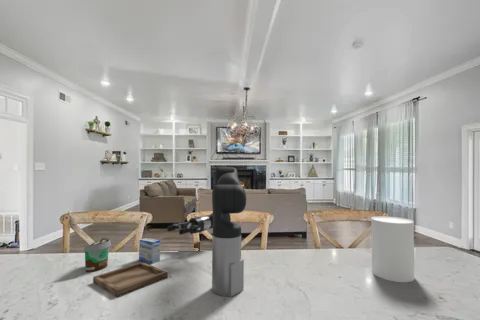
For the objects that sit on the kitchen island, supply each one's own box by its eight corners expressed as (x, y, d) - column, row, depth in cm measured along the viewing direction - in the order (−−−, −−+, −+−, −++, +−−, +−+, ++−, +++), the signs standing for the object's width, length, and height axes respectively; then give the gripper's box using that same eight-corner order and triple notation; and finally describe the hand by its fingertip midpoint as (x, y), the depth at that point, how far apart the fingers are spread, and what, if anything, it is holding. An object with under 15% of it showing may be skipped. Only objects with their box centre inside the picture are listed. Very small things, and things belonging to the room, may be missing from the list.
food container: (99, 274, 95) (100, 246, 96) (83, 273, 95) (83, 245, 96) (116, 261, 108) (117, 237, 108) (101, 261, 108) (102, 237, 108)
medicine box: (138, 260, 109) (138, 239, 109) (146, 257, 113) (147, 237, 113) (152, 264, 105) (152, 242, 106) (160, 260, 109) (160, 239, 110)
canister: (371, 277, 94) (370, 220, 94) (372, 265, 106) (371, 215, 106) (416, 285, 88) (415, 224, 88) (412, 271, 100) (411, 218, 100)
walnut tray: (167, 277, 92) (167, 271, 92) (117, 297, 78) (117, 290, 78) (141, 267, 102) (141, 261, 102) (93, 282, 88) (93, 276, 88)
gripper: (190, 215, 137) (164, 220, 124) (209, 218, 128) (184, 224, 115) (189, 229, 137) (163, 236, 124) (209, 234, 128) (183, 241, 115)
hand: (173, 230), depth 120 cm, fingers open, 8 cm apart
